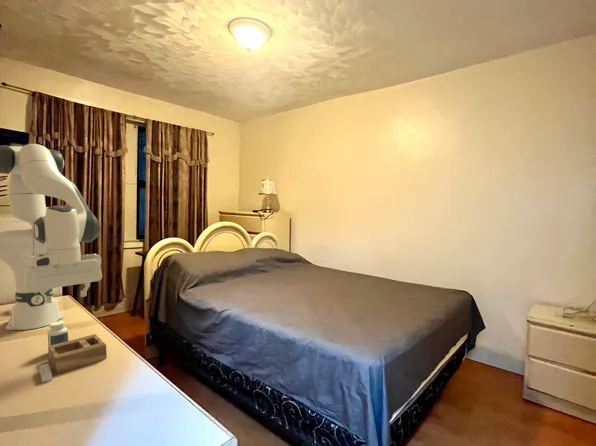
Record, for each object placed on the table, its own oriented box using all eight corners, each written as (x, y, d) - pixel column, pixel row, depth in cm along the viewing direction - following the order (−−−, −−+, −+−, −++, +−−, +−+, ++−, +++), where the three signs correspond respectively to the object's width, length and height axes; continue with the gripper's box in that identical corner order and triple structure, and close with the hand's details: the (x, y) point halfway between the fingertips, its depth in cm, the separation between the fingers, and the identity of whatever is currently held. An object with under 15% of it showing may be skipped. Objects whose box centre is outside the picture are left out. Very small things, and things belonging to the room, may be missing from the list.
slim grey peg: (39, 373, 96) (38, 366, 96) (48, 370, 98) (48, 363, 98) (42, 384, 91) (41, 376, 90) (52, 381, 92) (51, 373, 92)
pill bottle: (72, 349, 111) (71, 321, 111) (56, 356, 106) (54, 327, 106) (61, 347, 113) (59, 319, 112) (44, 354, 108) (43, 325, 107)
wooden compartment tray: (48, 360, 104) (48, 346, 103) (95, 346, 113) (95, 334, 113) (56, 373, 95) (55, 358, 95) (106, 358, 105) (106, 344, 104)
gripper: (98, 251, 114) (99, 290, 115) (21, 259, 99) (24, 304, 100) (103, 253, 110) (105, 294, 111) (24, 262, 95) (27, 309, 96)
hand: (66, 299), depth 106 cm, fingers open, 8 cm apart
